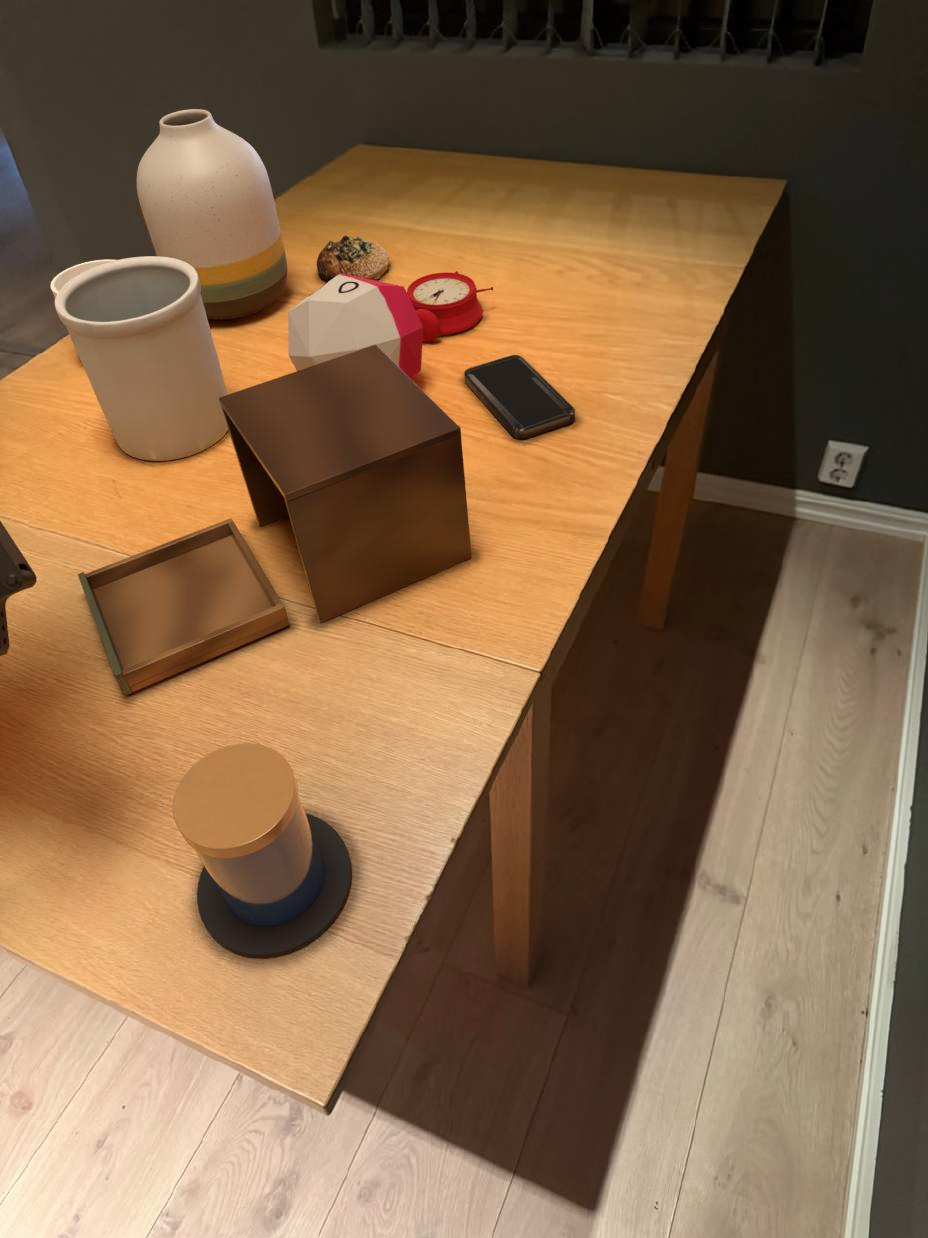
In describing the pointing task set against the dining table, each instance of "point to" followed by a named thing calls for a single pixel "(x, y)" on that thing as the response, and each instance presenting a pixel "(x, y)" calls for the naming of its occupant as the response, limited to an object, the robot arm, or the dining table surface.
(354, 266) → the bread roll
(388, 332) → the decorative object
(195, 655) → the drawer
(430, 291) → the alarm clock
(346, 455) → the cabinet
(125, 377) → the utensil holder
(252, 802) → the jar
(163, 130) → the vase
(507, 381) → the phone
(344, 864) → the coaster
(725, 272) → the dining table surface
